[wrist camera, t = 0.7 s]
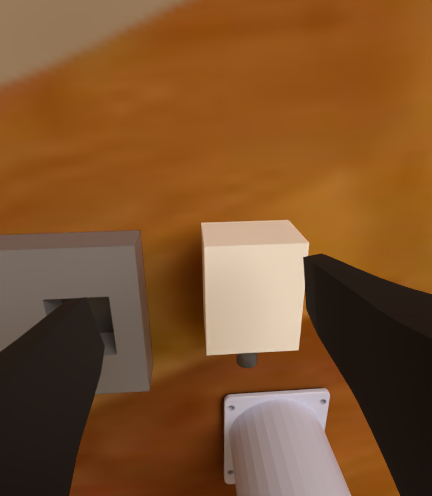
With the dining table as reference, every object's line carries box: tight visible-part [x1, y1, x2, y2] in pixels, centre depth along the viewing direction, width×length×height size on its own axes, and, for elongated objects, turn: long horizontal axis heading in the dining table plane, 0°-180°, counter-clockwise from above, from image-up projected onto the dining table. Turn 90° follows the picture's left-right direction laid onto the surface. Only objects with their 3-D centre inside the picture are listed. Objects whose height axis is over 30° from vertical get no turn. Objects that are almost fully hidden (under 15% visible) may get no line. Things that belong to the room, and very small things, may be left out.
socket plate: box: [0, 230, 153, 394], centre depth 21 cm, size 10×14×2 cm
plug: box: [201, 220, 309, 368], centre depth 20 cm, size 8×5×6 cm, turn 1°
